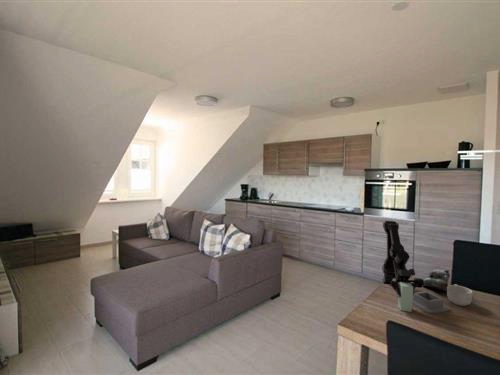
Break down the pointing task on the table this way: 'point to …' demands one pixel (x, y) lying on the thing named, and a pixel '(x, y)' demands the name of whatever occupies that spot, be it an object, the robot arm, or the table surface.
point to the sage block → (405, 296)
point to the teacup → (459, 295)
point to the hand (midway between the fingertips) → (406, 297)
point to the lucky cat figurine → (438, 279)
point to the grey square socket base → (429, 302)
